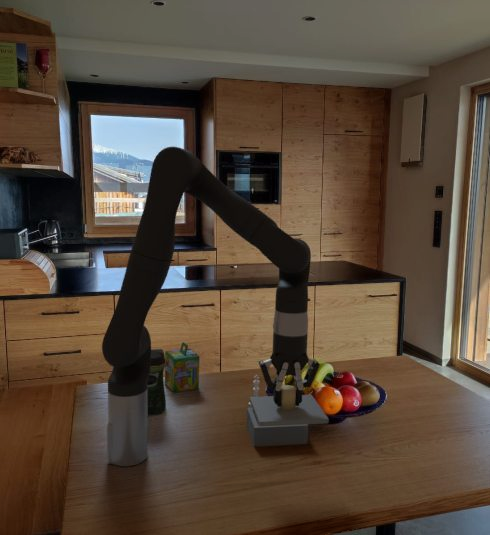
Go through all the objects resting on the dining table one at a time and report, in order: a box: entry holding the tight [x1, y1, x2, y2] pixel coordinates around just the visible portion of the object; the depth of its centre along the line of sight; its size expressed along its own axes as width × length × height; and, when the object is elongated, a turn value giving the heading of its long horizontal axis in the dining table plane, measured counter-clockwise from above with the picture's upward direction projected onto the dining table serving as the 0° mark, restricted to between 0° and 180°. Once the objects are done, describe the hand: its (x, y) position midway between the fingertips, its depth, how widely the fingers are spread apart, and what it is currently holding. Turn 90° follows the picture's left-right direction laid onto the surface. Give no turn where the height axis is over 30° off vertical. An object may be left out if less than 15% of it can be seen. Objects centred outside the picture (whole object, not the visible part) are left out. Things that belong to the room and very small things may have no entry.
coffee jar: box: [147, 348, 167, 416], centre depth 145 cm, size 10×8×19 cm
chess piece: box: [248, 374, 261, 405], centre depth 151 cm, size 5×5×10 cm
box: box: [246, 407, 309, 447], centre depth 132 cm, size 14×12×6 cm
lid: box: [249, 384, 330, 426], centre depth 111 cm, size 15×13×6 cm
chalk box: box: [164, 341, 200, 394], centre depth 165 cm, size 9×9×15 cm
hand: (287, 404), depth 111 cm, fingers closed on lid, 3 cm apart
